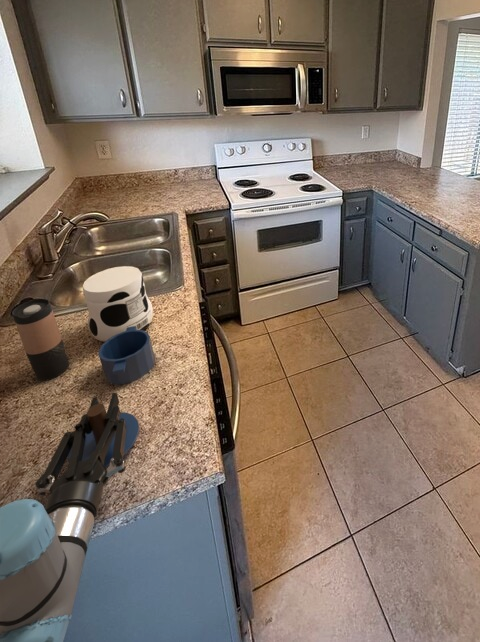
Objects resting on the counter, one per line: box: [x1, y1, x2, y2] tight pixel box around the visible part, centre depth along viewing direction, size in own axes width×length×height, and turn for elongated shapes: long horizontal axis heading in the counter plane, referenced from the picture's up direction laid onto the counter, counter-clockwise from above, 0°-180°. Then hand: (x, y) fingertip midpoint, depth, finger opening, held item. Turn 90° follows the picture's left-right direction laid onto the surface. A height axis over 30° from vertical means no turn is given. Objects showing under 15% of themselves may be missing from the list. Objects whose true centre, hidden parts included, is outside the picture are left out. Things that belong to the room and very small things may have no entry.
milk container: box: [82, 265, 154, 343], centre depth 108 cm, size 17×17×18 cm
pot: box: [97, 326, 156, 386], centre depth 94 cm, size 12×17×8 cm
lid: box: [67, 403, 140, 469], centre depth 72 cm, size 13×13×9 cm
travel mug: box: [11, 298, 69, 381], centre depth 92 cm, size 8×8×20 cm
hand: (106, 399), depth 76 cm, fingers closed on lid, 3 cm apart
